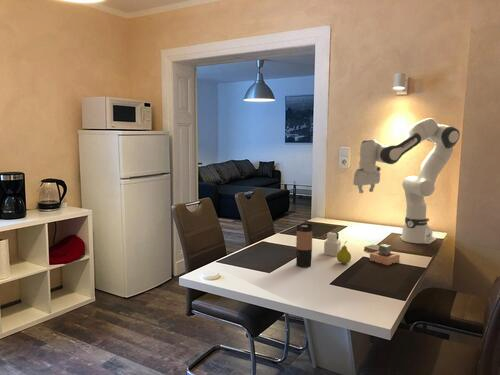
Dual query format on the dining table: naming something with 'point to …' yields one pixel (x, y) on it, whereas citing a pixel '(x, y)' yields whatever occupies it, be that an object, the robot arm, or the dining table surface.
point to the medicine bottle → (332, 244)
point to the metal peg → (384, 250)
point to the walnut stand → (371, 248)
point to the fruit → (343, 255)
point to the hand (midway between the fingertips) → (366, 192)
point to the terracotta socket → (384, 258)
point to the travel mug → (304, 245)
